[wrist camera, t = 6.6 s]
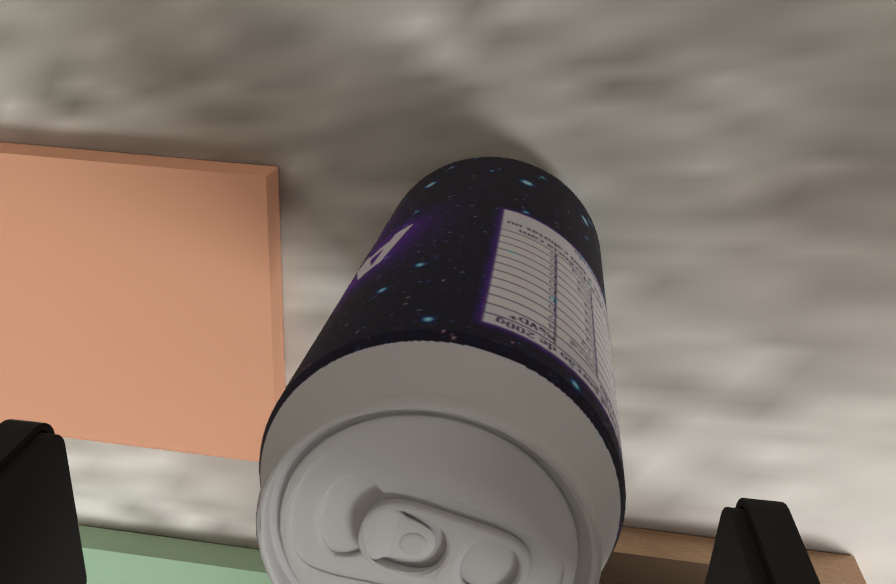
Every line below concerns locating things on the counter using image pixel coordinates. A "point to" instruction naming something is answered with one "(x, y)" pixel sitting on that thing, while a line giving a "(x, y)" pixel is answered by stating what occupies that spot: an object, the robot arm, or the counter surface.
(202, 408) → the terracotta mat
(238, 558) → the sage mat
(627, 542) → the mounted unit
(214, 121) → the counter surface
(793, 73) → the counter surface
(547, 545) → the beverage can
